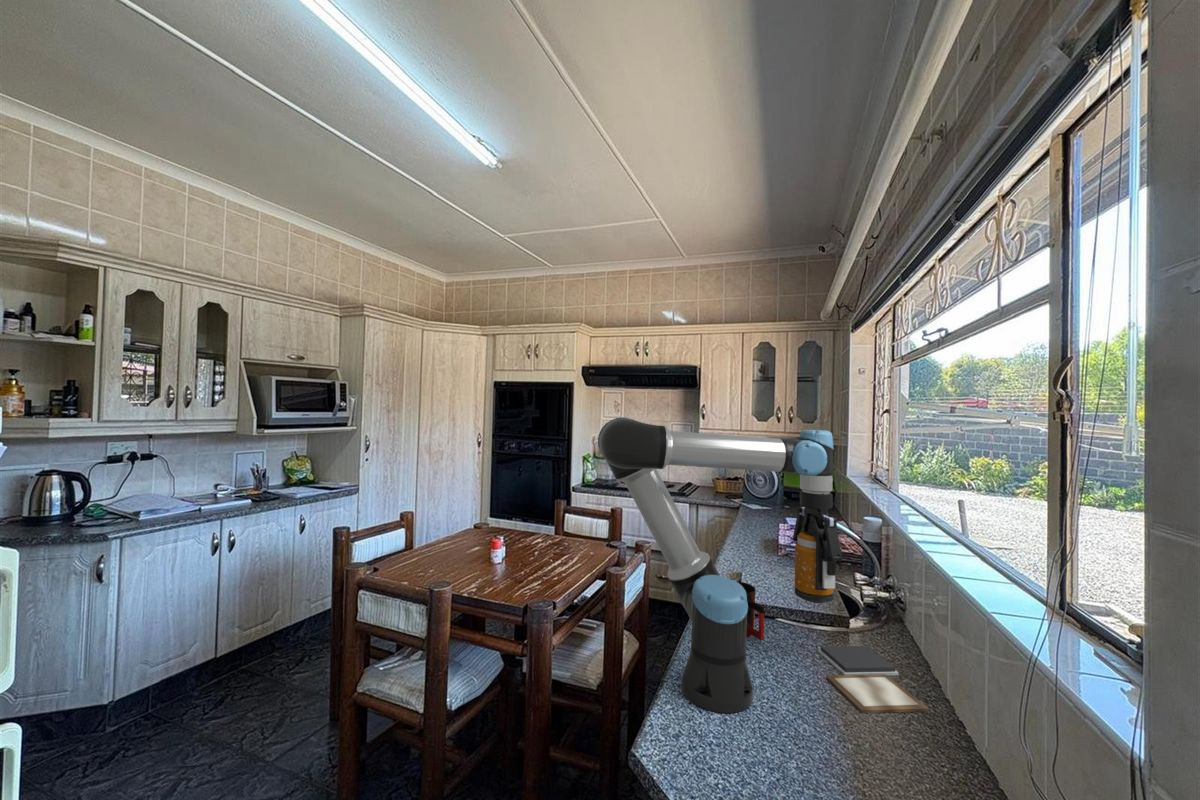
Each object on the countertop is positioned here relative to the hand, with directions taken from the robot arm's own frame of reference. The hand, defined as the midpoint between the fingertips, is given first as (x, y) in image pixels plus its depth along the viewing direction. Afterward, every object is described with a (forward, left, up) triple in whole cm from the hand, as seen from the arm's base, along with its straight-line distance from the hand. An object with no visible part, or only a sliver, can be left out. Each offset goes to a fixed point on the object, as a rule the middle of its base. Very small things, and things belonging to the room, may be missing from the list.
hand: (815, 579), depth 120 cm
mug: (-11, +17, -21) cm, 29 cm away
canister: (0, 0, -5) cm, 5 cm away
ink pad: (+11, -1, -20) cm, 23 cm away
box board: (+6, -14, -20) cm, 25 cm away
